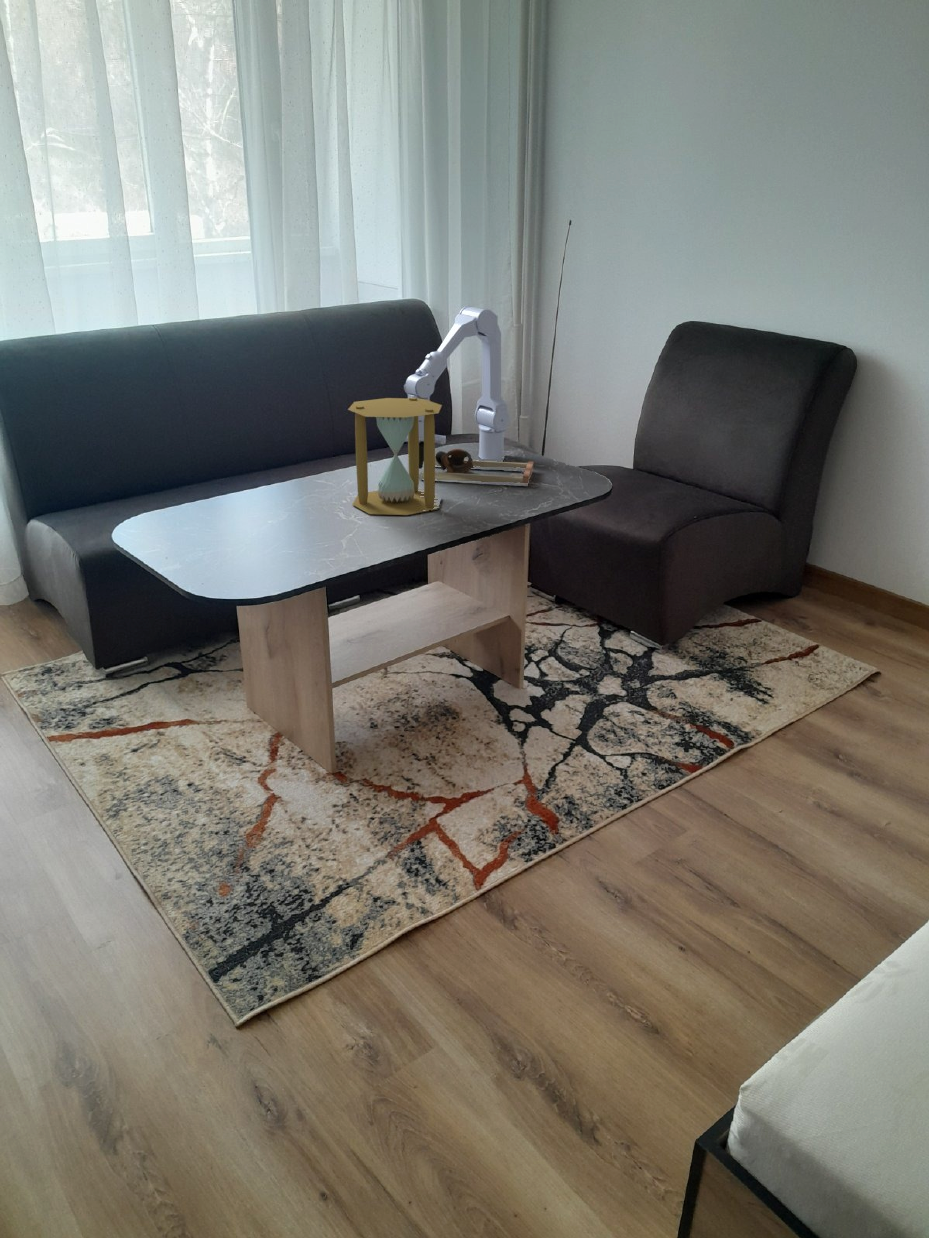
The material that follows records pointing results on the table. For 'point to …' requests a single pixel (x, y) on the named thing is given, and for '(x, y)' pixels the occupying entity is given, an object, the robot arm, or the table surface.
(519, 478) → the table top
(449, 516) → the table surface
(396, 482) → the hourglass
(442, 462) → the pottery mug
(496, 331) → the robot arm
